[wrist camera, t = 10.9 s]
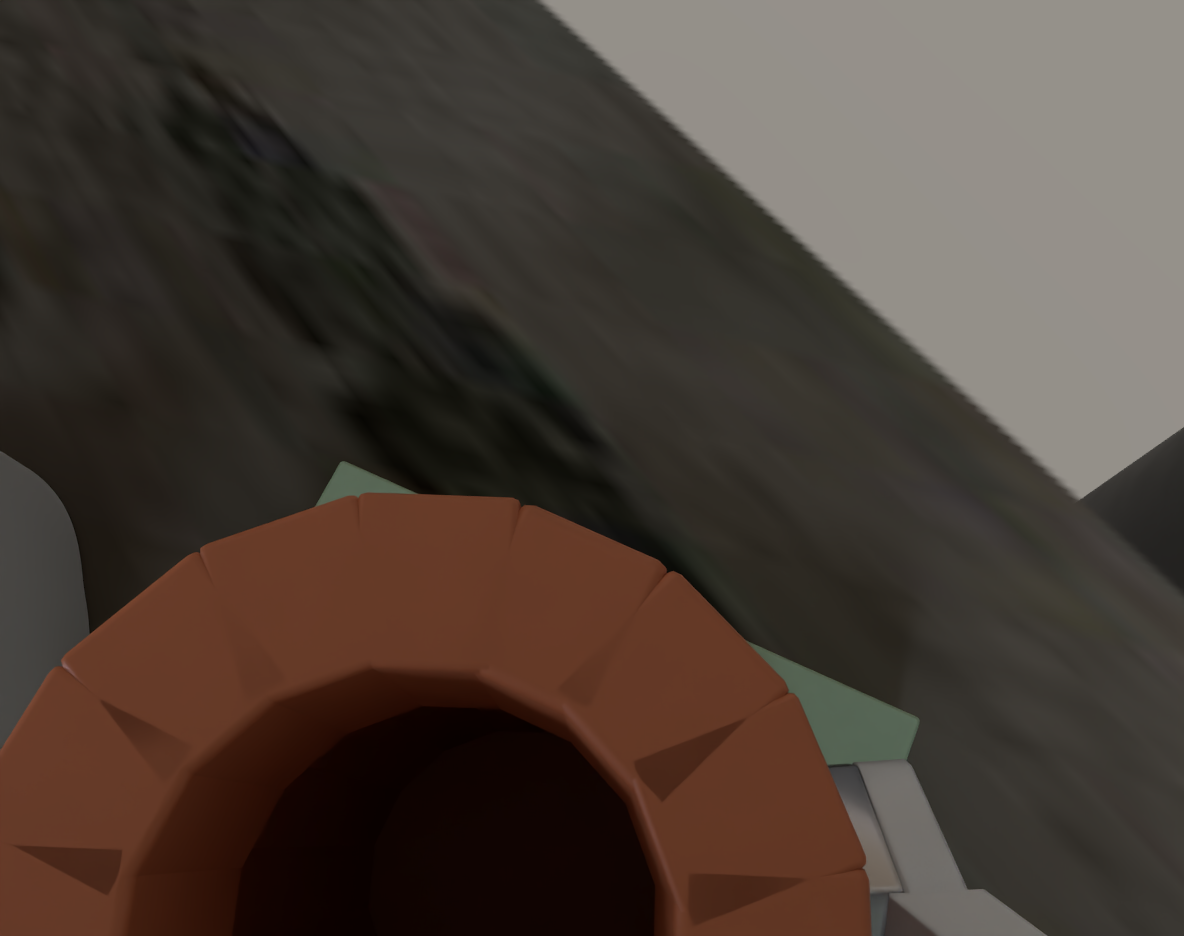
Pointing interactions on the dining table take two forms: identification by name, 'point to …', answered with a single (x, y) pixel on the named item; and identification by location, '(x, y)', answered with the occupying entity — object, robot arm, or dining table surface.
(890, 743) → the scale
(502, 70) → the dining table surface
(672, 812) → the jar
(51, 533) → the lumpy-topped squat cylinder
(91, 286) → the dining table surface
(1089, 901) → the dining table surface
